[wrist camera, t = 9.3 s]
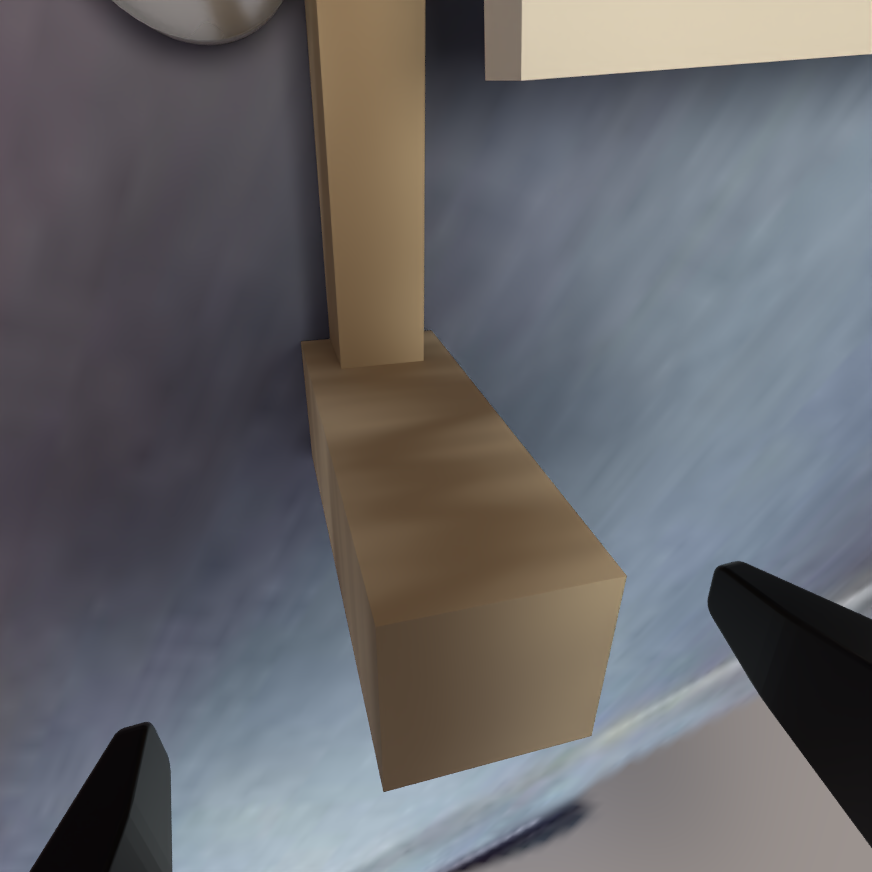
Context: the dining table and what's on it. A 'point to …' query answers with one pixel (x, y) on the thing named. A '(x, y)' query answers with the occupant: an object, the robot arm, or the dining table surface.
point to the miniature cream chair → (664, 34)
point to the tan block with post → (430, 455)
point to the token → (202, 18)
